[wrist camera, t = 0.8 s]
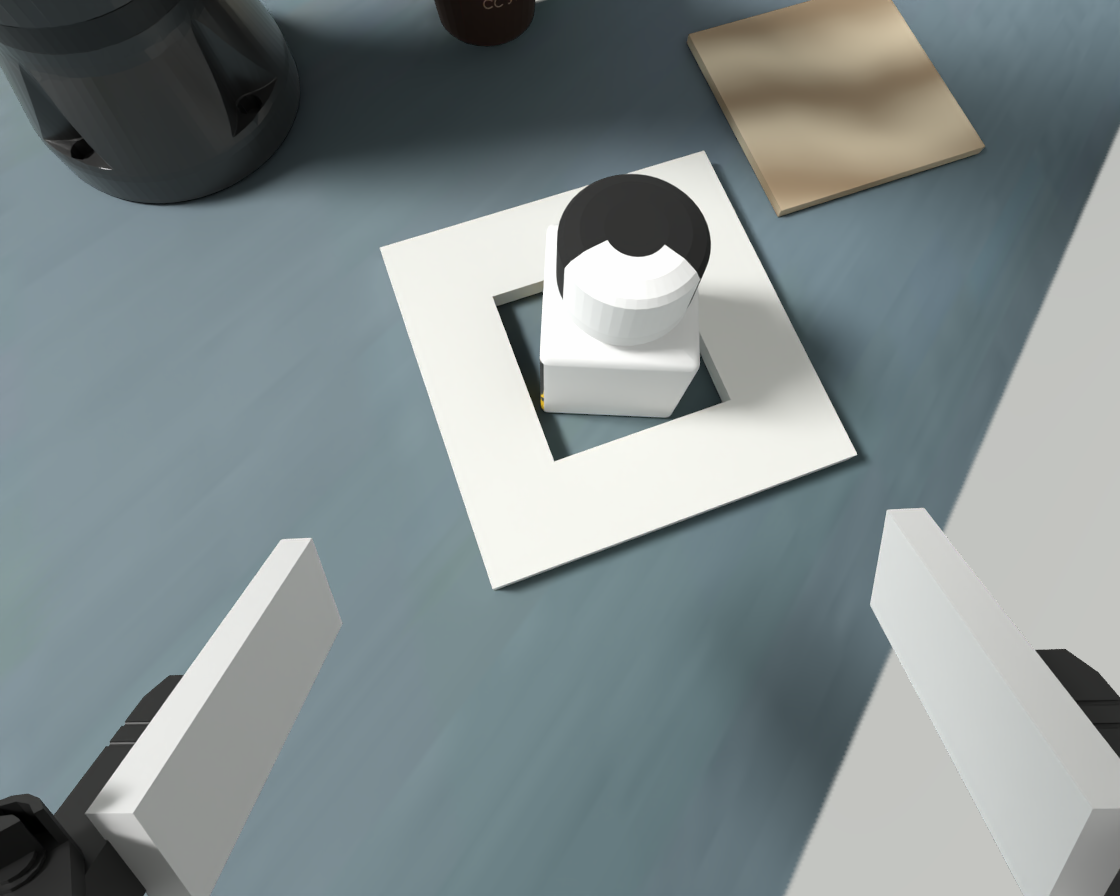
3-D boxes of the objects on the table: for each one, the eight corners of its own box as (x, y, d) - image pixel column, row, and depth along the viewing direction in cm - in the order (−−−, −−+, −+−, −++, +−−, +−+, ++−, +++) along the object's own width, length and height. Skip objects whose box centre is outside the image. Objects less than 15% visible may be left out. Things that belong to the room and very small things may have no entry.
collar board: (385, 259, 37) (379, 247, 36) (699, 164, 39) (704, 150, 38) (494, 590, 32) (492, 589, 31) (846, 460, 34) (857, 454, 33)
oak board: (686, 42, 42) (688, 34, 41) (875, -11, 43) (879, -19, 43) (778, 216, 38) (781, 210, 38) (978, 153, 40) (985, 146, 39)
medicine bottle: (546, 296, 37) (547, 144, 25) (670, 302, 37) (727, 153, 25) (540, 413, 35) (537, 308, 23) (671, 419, 35) (733, 317, 23)
